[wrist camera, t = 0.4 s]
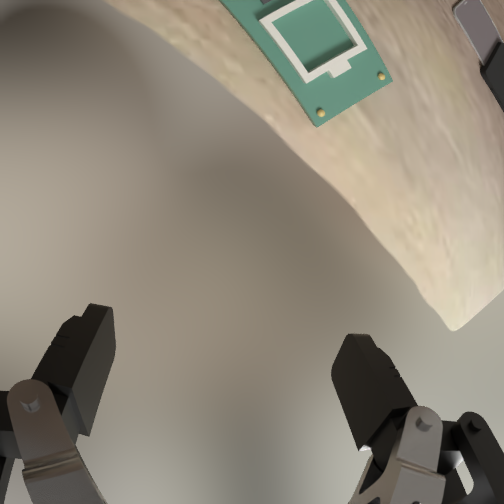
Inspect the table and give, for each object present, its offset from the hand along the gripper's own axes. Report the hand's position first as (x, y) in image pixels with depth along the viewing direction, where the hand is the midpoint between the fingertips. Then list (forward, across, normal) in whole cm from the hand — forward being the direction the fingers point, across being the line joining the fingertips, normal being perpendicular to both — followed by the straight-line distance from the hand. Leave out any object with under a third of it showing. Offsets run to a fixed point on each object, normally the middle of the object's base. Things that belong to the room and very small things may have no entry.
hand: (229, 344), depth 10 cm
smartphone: (+25, -31, -30) cm, 50 cm away
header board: (+24, -6, -18) cm, 31 cm away
